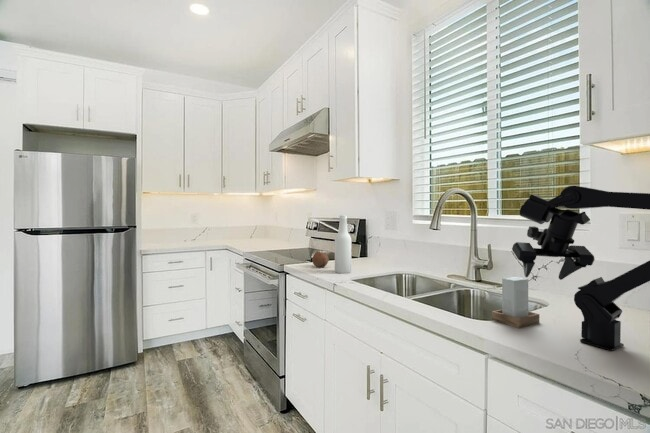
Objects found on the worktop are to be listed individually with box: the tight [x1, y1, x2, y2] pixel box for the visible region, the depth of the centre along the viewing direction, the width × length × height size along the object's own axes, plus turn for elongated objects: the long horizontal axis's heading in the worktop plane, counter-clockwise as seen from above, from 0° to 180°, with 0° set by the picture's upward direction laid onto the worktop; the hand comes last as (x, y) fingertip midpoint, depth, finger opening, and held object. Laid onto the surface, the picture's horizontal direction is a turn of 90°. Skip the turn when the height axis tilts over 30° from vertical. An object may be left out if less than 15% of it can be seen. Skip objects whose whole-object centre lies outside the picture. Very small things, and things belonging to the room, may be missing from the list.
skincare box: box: [501, 276, 529, 318], centre depth 98 cm, size 6×4×12 cm
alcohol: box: [334, 214, 352, 274], centre depth 176 cm, size 9×9×30 cm
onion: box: [311, 251, 329, 268], centre depth 192 cm, size 10×9×10 cm
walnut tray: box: [491, 308, 540, 329], centre depth 98 cm, size 8×10×2 cm
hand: (542, 277), depth 96 cm, fingers open, 9 cm apart
